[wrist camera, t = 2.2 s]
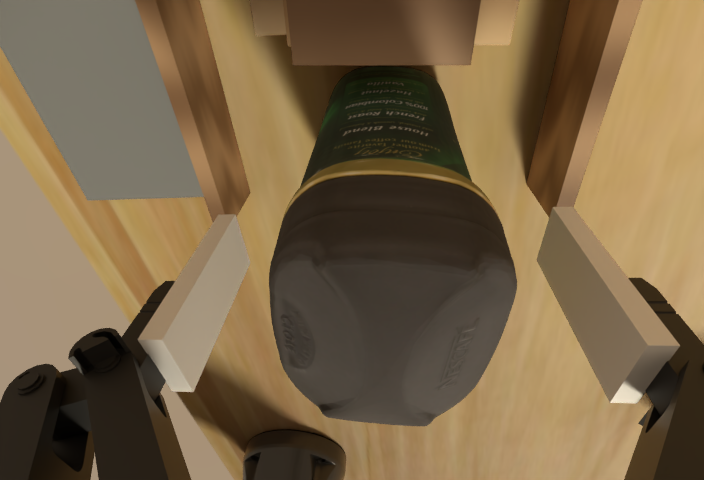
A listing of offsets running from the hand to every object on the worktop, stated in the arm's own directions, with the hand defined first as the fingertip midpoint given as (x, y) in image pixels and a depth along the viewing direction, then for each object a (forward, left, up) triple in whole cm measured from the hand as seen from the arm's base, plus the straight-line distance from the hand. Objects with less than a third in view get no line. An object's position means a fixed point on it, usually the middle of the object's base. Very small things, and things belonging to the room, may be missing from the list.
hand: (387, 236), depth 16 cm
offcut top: (+8, 0, -8) cm, 11 cm away
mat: (+3, +19, -12) cm, 22 cm away
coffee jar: (0, 0, -12) cm, 12 cm away
